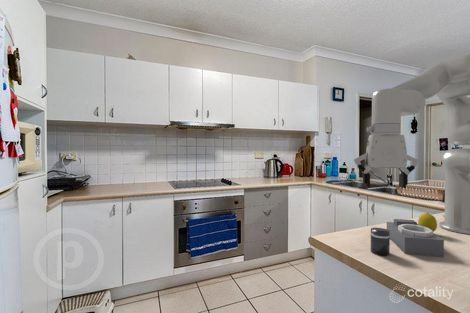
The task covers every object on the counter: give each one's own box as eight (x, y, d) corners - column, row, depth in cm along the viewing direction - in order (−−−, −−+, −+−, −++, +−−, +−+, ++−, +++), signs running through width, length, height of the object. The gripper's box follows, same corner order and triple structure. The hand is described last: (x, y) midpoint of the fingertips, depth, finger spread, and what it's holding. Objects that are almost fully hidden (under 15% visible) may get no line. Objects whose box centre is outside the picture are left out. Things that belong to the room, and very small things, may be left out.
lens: (368, 248, 77) (368, 227, 77) (386, 250, 76) (386, 228, 75) (373, 255, 72) (373, 232, 72) (392, 257, 71) (392, 233, 71)
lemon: (414, 231, 93) (415, 210, 92) (431, 231, 91) (431, 211, 91) (423, 236, 87) (423, 214, 87) (440, 237, 86) (440, 215, 86)
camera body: (386, 235, 88) (386, 217, 88) (418, 237, 86) (418, 219, 86) (404, 253, 73) (404, 232, 73) (443, 256, 70) (444, 235, 70)
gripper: (357, 129, 71) (356, 187, 71) (425, 129, 67) (423, 190, 67) (351, 132, 78) (350, 184, 79) (412, 131, 74) (410, 186, 75)
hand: (384, 186), depth 73 cm, fingers open, 9 cm apart
